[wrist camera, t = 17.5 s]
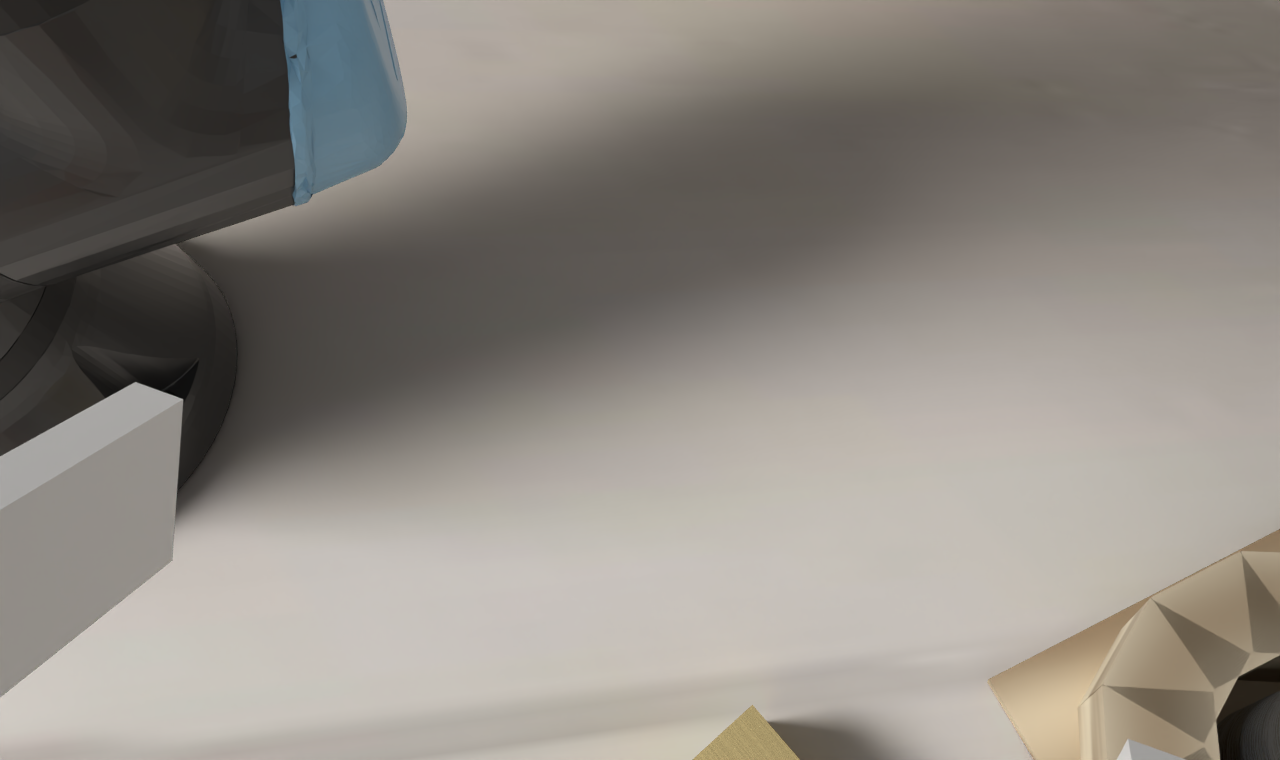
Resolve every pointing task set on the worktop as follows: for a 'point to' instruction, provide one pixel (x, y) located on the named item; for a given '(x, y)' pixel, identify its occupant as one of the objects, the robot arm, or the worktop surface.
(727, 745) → the square bit
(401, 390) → the worktop surface
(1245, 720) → the cylinder
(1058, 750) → the socket block
